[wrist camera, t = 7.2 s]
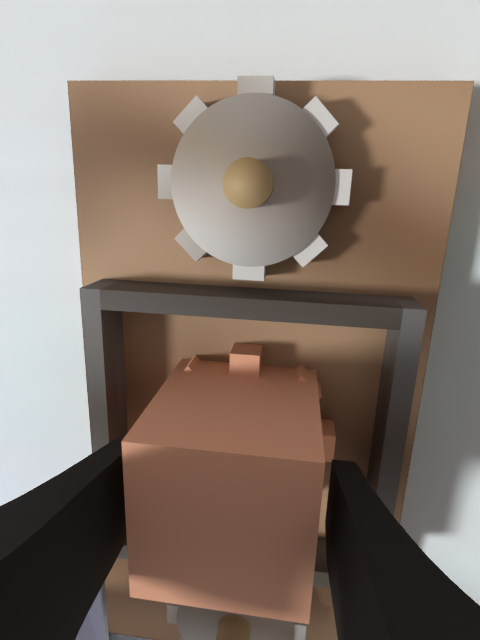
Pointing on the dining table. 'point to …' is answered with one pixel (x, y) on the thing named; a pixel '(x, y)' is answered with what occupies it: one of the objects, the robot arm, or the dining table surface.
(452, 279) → the dining table surface
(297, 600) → the tabbed peach cube
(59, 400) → the dining table surface
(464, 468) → the dining table surface
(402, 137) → the gear board
